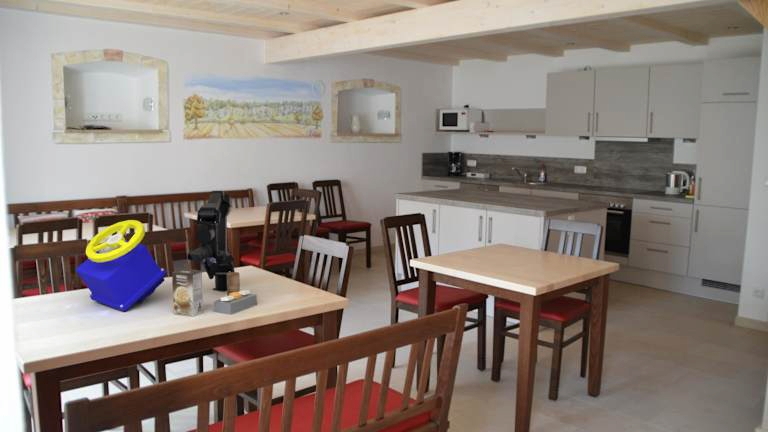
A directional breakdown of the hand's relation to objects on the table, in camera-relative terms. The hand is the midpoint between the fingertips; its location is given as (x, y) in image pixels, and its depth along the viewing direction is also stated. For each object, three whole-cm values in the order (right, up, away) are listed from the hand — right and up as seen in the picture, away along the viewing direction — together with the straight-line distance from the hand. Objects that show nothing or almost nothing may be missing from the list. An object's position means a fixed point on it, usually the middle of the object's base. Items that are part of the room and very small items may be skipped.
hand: (211, 278), depth 246 cm
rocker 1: (+9, -6, -9) cm, 14 cm away
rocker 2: (+13, -5, -1) cm, 14 cm away
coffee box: (-5, -12, -11) cm, 17 cm away
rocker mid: (+11, -6, -5) cm, 13 cm away
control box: (-33, -10, -1) cm, 34 cm away
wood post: (+6, -9, +11) cm, 15 cm away
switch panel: (+11, -11, -4) cm, 16 cm away
